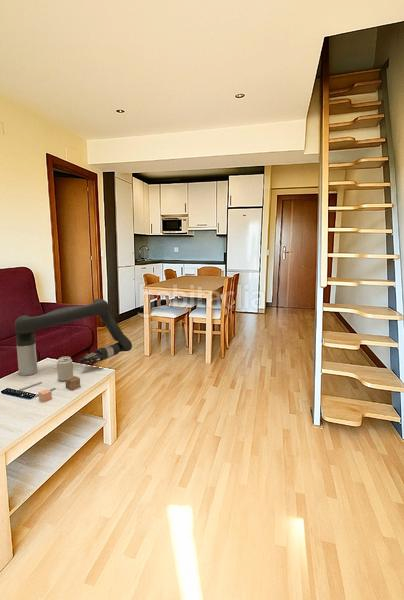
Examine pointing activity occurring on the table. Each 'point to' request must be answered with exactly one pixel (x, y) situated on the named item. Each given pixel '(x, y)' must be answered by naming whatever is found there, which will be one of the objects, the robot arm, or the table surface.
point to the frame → (32, 386)
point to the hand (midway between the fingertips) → (79, 361)
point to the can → (64, 368)
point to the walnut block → (72, 382)
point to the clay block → (45, 395)
